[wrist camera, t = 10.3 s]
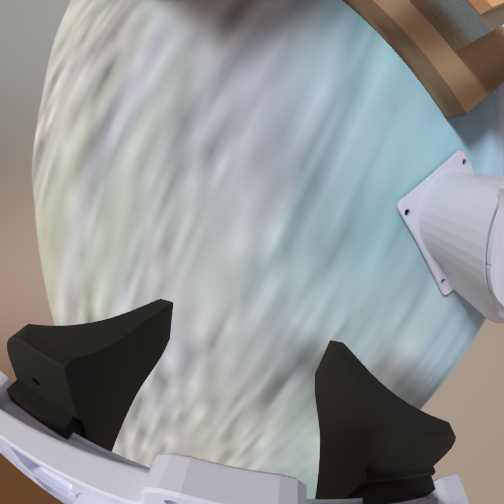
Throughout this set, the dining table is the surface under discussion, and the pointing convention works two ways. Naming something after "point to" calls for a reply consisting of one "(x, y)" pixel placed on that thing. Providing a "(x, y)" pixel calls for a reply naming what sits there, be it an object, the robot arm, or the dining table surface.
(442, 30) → the base
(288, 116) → the dining table surface
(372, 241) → the dining table surface
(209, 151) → the dining table surface
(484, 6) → the cover
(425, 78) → the stand
